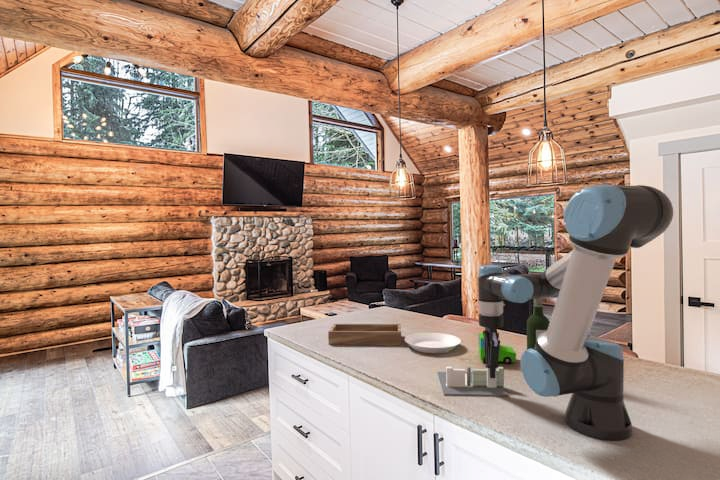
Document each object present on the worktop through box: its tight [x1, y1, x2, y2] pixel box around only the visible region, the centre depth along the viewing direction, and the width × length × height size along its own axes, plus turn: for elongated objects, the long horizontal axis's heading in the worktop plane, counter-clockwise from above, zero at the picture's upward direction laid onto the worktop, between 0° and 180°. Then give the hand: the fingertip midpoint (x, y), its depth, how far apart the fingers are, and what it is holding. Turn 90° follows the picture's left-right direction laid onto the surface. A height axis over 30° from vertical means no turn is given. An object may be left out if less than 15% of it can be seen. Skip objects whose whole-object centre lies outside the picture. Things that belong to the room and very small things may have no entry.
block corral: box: [327, 323, 402, 346], centre depth 194 cm, size 16×34×6 cm, turn 85°
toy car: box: [478, 332, 517, 365], centre depth 160 cm, size 10×13×10 cm
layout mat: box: [437, 371, 510, 397], centre depth 136 cm, size 20×20×1 cm
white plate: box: [404, 332, 462, 354], centre depth 180 cm, size 25×25×4 cm
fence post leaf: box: [445, 366, 472, 386], centre depth 134 cm, size 2×8×7 cm, turn 85°
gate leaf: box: [471, 366, 505, 387], centre depth 133 cm, size 10×2×6 cm, turn 85°
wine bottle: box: [526, 298, 550, 350], centre depth 143 cm, size 8×8×30 cm
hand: (491, 386), depth 128 cm, fingers closed
